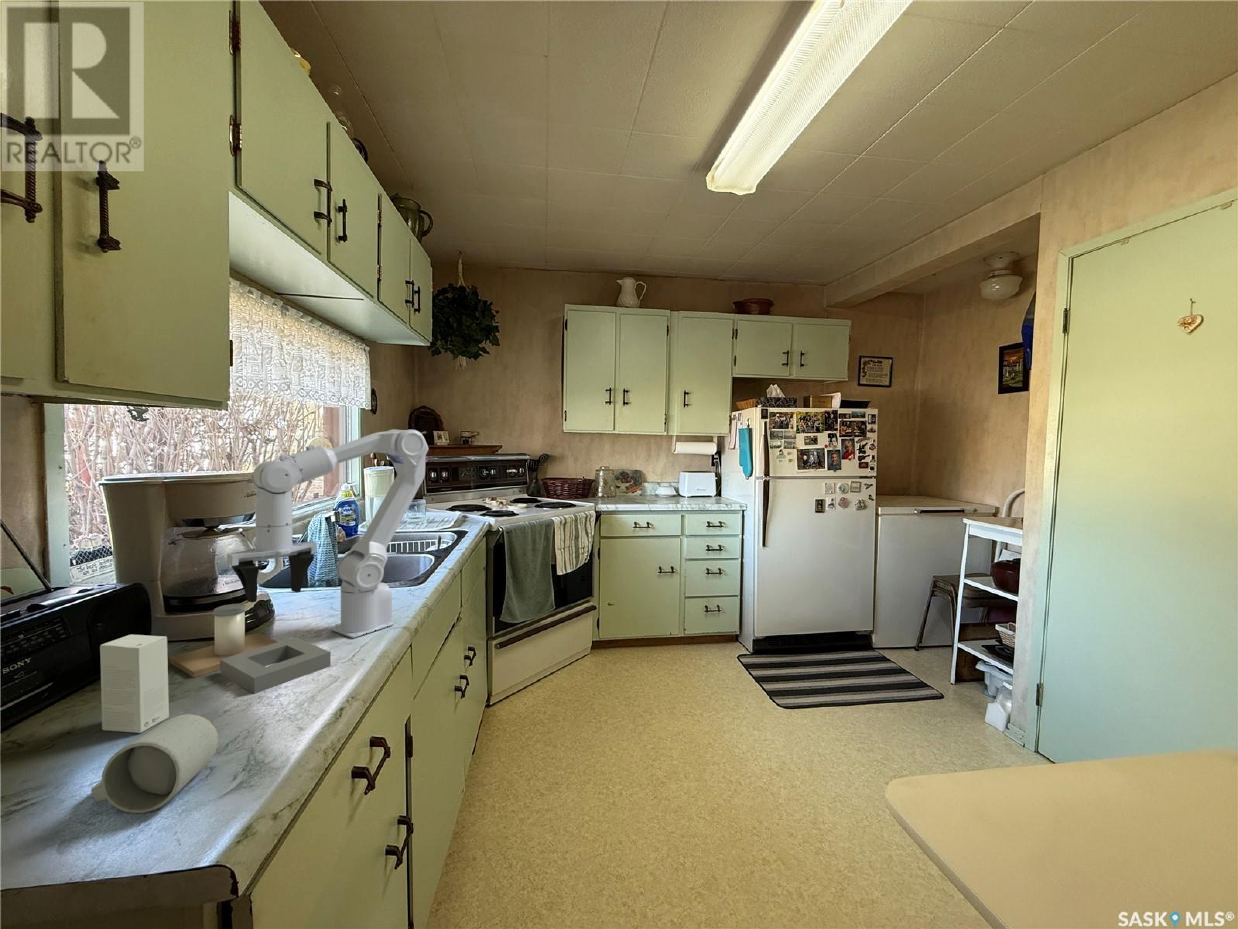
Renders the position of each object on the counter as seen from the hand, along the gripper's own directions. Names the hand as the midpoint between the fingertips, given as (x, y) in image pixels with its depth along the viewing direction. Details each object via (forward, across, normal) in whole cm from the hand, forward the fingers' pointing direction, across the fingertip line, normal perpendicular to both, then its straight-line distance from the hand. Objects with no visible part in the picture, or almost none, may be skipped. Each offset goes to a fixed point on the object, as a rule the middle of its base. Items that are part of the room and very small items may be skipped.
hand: (274, 596), depth 96 cm
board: (+10, -6, +4) cm, 13 cm away
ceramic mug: (+11, -27, -30) cm, 42 cm away
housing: (+10, -4, -9) cm, 14 cm away
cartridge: (+9, -6, +4) cm, 12 cm away
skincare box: (+11, -23, -11) cm, 27 cm away
